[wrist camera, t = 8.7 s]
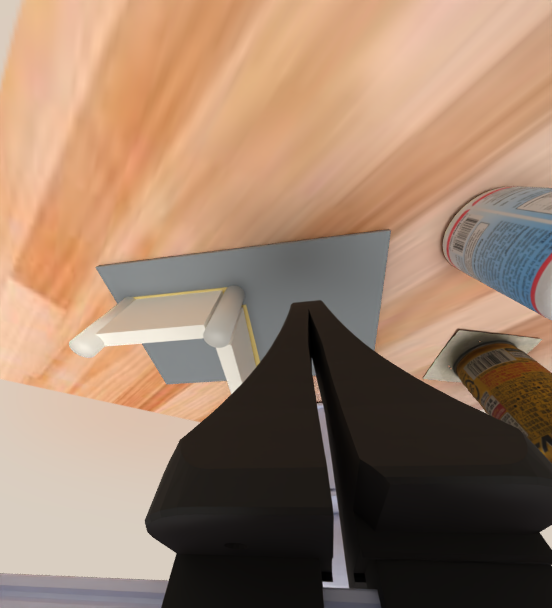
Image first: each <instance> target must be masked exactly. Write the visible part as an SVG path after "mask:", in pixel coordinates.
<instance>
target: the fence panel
mask: <svg viewBox="0 0 552 608" xmlns="http://www.w3.org/2000/svg"><path fill="white" fill-rule="evenodd" d="M216 350H217V353H218V356H219V359H220V362H221V365H222V368H223V371H224V374H225V377H226V380H227V383H228V386H229V388H230V391H231V394H232V393H233V392H234V391H235V390H236V389H237V388H238V387H239V386H240V385H241V384H242V383H243V382H244V381H245V380H246V379H247V377H248V376H249V375H250V374H251V373H252V371H253V370H254V369H255V368H256V364H255V359H254V355H253V350H252V346H251V341H250V337H249V332H248V328H247V323H246V319H245V314H244V310H243V307H241V309H240V312H239V315H238V318H237V321H236V324H235V327H234V330H233V333H232V336H231V339H230V342H229V344H228V345H227V346H225V347H222V348H216Z"/></svg>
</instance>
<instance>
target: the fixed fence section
mask: <svg viewBox="0 0 552 608" xmlns="http://www.w3.org/2000/svg"><path fill="white" fill-rule="evenodd" d="M244 297H245V293H244V291H243V290H242V288H240V287H238V286H235V285H232V286H229V287H228V288H227V289H226V290H225V292H224V294H223V291H222V290H219V291H209V292H200V293H190V294H181V295H171V296H161V297H152V298H142V299H135V298H133V297H126V298H125V299H123V300H122V301H121V302H119V303H118V304H117V305H116V306H114V307H113V308H112V309H110V310H109V311H108V312H107V313H105V314H104V315H103V316H102V317H100V318H99V319H98V320H96V321H95V322H94V323H93V324H91V325H90V326H89V327H87V328H86V329H85V330H84V331H82V332H81V333H80V334H79V335H77V336H76V337H75V338H73V339H72V340H71V341H70V342H69V346H70V348H71V349H72V351H74V352H75V353H76V354H78V355H80V356H82V357H87V358H91V357H94V356H95V355H96V354H97V353H98V352H99V351H100V350H101V349H102V348H103V347H105V346H116V345H128V344H140V343H153V342H165V341H177V340H190V339H202V338H204V340H205V342H206V343H207V344H209V345H210V346H212V347H216V348H222V347H225V346H227V345H228V344H229V342H230V339H231V336H232V333H233V330H234V327H235V324H236V321H237V318H238V315H239V312H240V309H241V306H242V303H243V300H244Z"/></svg>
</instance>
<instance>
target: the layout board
mask: <svg viewBox="0 0 552 608" xmlns="http://www.w3.org/2000/svg"><path fill="white" fill-rule="evenodd" d="M390 233H391V230H389V229H388V230H380V231H372V232H364V233H356V234H348V235H340V236H332V237H324V238H316V239H308V240H300V241H292V242H284V243H276V244H268V245H260V246H252V247H244V248H236V249H228V250H220V251H212V252H204V253H196V254H188V255H180V256H172V257H164V258H156V259H148V260H140V261H132V262H124V263H116V264H108V265H100V266H97V267H96V269H97V271H98V272H99V274H100V276H101V277H102V279H103V281H104V282H105V284H106V285H107V287H108V289H109V290H110V292H111V294H112V295H113V297H114V299H115V300H116V302H117V304H118V303H119V302H121V301H122V300H123V299H125V298H126V297H133V298H135V299H142V298H152V297H161V296H171V295H181V294H190V293H200V292H209V291H219V290H222V291H223V294H224V292H225V290H226V289H227V288H228V287H229V286H232V285H235V286H238V287H240V288H242V290H243V291H244V293H245V297H244V300H243V303H242V306H241V307H243V310H244V314H245V319H246V323H247V328H248V332H249V337H250V341H251V346H252V350H253V355H254V359H255V364H256V367H257V365H258V364H259V363H260V362H261V360H262V359H263V357H264V356H265V355H266V353H267V352H268V350H269V349H270V347H271V346H272V344H273V342H274V341H275V339H276V337H277V336H278V334H279V332H280V330H281V328H282V326H283V324H284V322H285V320H286V318H287V315H288V313H289V310H290V305H291V304H292V303H295V302H305V301H316V300H321V301H323V302H324V304H325V305H326V306H327V307H328V309H329V310H330V311H331V312H332V313H333V314H334V315H335V316H336V317H337V319H338V320H339V321H340V322H341V323H342V324H343V325H344V326H345V327H346V328H347V329H349V330H350V331H351V332H352V333H353V334H354V335H355V336H356V337H357V338H359V339H360V340H361V341H362V342H363V343H365V344H366V345H367V346H368V347H370V348H371V349H372V350H375V342H376V335H377V328H378V321H379V313H380V306H381V299H382V291H383V284H384V277H385V270H386V262H387V255H388V248H389V240H390ZM142 345H143V346H144V348H145V350H146V351H147V353H148V355H149V356H150V358H151V360H152V361H153V363H154V364H155V366H156V368H157V369H158V371H159V373H160V374H161V376H162V378H163V379H164V381H165V383H166V384H179V383H196V382H213V381H227V380H226V377H225V374H224V371H223V368H222V365H221V362H220V359H219V356H218V353H217V350H216V347H212V346H210V345H209V344H207V343H206V342H205V340H204V338H202V339H190V340H177V341H165V342H153V343H142ZM315 375H316V373H315V369H314V365H313V360H312V376H315Z"/></svg>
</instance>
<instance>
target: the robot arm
mask: <svg viewBox="0 0 552 608" xmlns="http://www.w3.org/2000/svg"><path fill="white" fill-rule="evenodd" d="M312 360H313V365H314V369H315V373H316V377H317V382H318V386H319V390H320V394H321V398H322V403H317V402H316V396H315V389H314V383H313V376H312ZM145 524H146V528H147V532H148V533H149V534H150V535H151V536H152V537H153V538H155V539H156V540H158V541H159V542H161V543H162V544H164V545H165V546H167V547H168V548H170V549H171V550H173V551H174V552H176V553H177V554H176V557H175V561H174V564H173V568H172V572H171V575H170V579H169V581H167V580H144V579H143V580H142V579H120V578H97V577H73V576H50V575H26V574H4V573H0V608H552V566H551V565H552V550H551V548H550V547H549V545H548V544H547V543H546V541H545V540H544V538H543V537H542V535H541V534H540V533H539V532H541V531H542V530H544V529H546V528H547V527H549V526H550V525H552V463H551V462H550V461H549V460H548V459H547V458H546V457H545V455H544V454H543V453H542V452H541V451H540V450H539V449H538V448H537V447H536V446H535V445H534V444H533V443H532V442H531V441H530V440H529V439H528V438H527V437H526V436H525V435H524V434H523V433H522V432H521V431H520V430H519V429H518V428H516V427H514V426H512V425H510V424H507V423H505V422H503V421H501V420H499V419H497V418H495V417H492V416H490V415H488V414H486V413H484V412H482V411H480V410H477V409H475V408H473V407H471V406H469V405H467V404H465V403H462V402H460V401H458V400H456V399H454V398H452V397H450V396H449V395H447V394H445V393H443V392H441V391H439V390H437V389H435V388H433V387H431V386H430V385H428V384H426V383H424V382H422V381H421V380H419V379H417V378H415V377H414V376H412V375H410V374H409V373H407V372H405V371H404V370H402V369H400V368H399V367H397V366H396V365H394V364H392V363H391V362H389V361H388V360H386V359H385V358H383V357H382V356H380V355H379V354H378V353H376V352H375V351H374V350H372V349H371V348H370V347H368V346H367V345H366V344H365V343H363V342H362V341H361V340H360V339H359V338H357V337H356V336H355V335H354V334H353V333H352V332H351V331H350V330H349V329H347V328H346V327H345V326H344V325H343V324H342V323H341V322H340V321H339V320H338V319H337V317H336V316H335V315H334V314H333V313H332V312H331V311H330V310H329V309H328V307H327V306H326V305H325V304H324V302H323V301H321V300H316V301H305V302H295V303H292V304H291V305H290V310H289V313H288V315H287V318H286V320H285V322H284V324H283V326H282V328H281V330H280V332H279V334H278V336H277V337H276V339H275V341H274V342H273V344H272V346H271V347H270V349H269V350H268V352H267V353H266V355H265V356H264V357H263V359H262V360H261V362H260V363H259V364H258V365H257V367H256V368H255V369H254V370H253V371H252V373H251V374H250V375H249V376H248V377H247V379H246V380H245V381H244V382H243V383H242V384H241V385H240V386H239V387H238V388H237V389H236V390H235V391H234V392H233V393H232V394H231V395H230V396H229V397H228V398H227V399H226V400H225V401H224V402H223V403H222V404H221V405H220V406H219V407H218V408H217V409H216V410H215V411H214V412H213V413H211V414H210V415H209V416H208V417H207V418H206V419H204V420H203V421H202V422H201V423H200V424H199V425H197V426H196V427H195V428H194V429H193V430H192V431H190V432H189V433H188V434H187V435H186V436H184V437H183V438H182V439H180V441H179V443H178V445H177V447H176V449H175V451H174V453H173V455H172V457H171V459H170V461H169V463H168V465H167V468H166V470H165V472H164V474H163V477H162V479H161V482H160V484H159V487H158V489H157V492H156V494H155V497H154V499H153V501H152V504H151V507H150V509H149V512H148V514H147V516H146V519H145Z"/></svg>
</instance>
